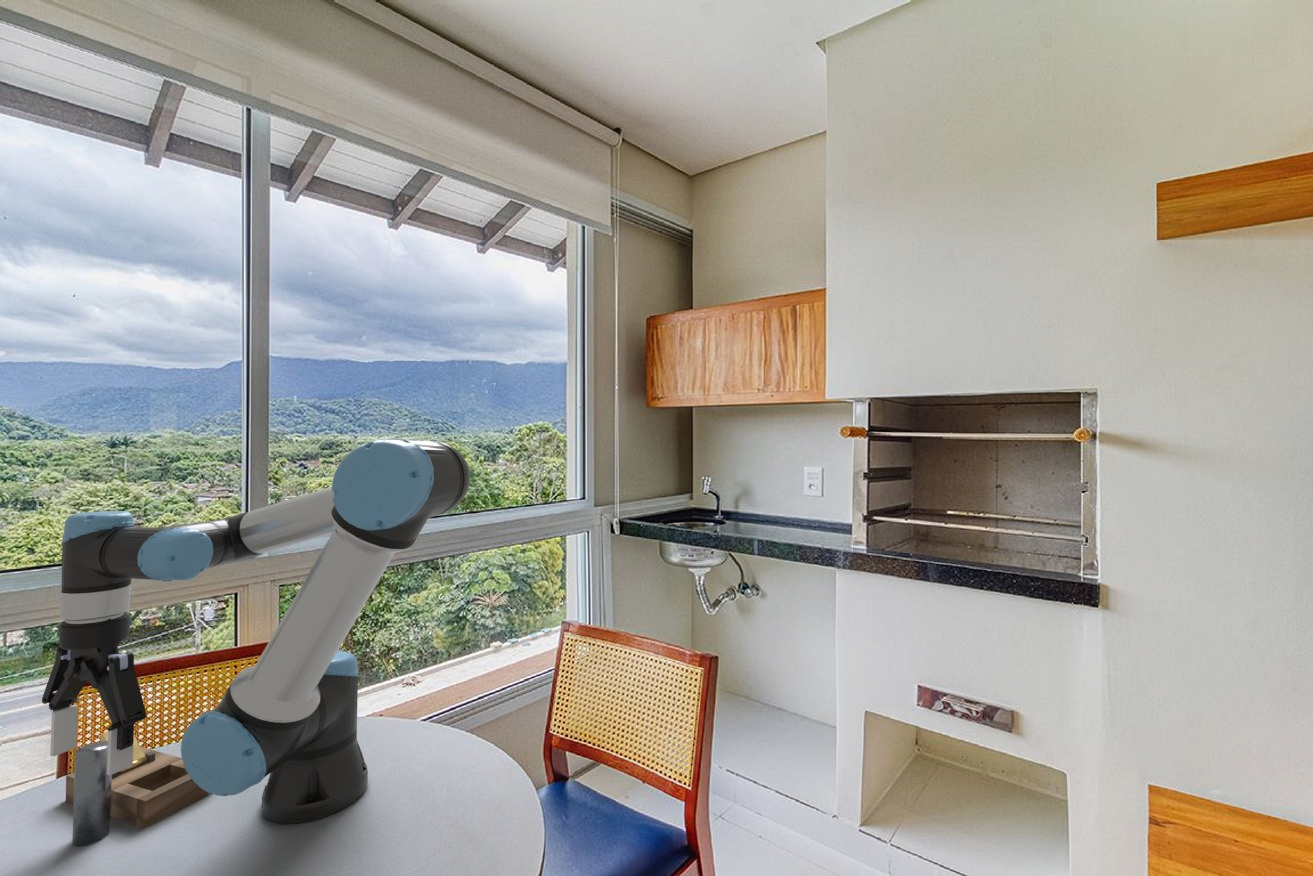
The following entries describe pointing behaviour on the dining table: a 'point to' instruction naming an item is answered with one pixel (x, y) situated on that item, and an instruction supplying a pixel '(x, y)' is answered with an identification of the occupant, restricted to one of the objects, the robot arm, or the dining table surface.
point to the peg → (91, 794)
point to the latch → (137, 753)
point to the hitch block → (149, 789)
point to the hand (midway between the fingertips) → (90, 761)
